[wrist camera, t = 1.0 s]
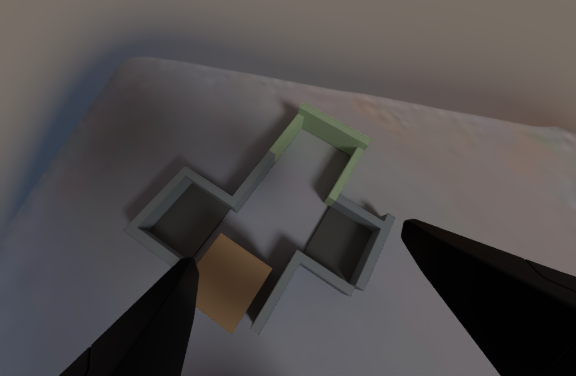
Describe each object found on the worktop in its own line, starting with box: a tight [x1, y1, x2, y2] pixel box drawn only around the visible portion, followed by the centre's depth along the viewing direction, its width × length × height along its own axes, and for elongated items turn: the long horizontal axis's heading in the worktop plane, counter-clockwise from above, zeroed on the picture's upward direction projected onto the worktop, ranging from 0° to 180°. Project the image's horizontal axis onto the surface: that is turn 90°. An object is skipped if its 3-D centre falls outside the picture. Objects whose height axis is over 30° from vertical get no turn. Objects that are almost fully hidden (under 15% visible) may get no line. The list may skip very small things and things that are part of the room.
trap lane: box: [123, 102, 395, 335], centre depth 21 cm, size 21×20×3 cm
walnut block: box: [196, 233, 272, 334], centre depth 17 cm, size 5×5×4 cm
